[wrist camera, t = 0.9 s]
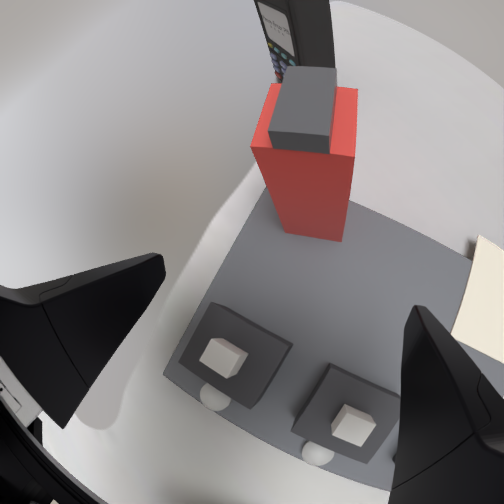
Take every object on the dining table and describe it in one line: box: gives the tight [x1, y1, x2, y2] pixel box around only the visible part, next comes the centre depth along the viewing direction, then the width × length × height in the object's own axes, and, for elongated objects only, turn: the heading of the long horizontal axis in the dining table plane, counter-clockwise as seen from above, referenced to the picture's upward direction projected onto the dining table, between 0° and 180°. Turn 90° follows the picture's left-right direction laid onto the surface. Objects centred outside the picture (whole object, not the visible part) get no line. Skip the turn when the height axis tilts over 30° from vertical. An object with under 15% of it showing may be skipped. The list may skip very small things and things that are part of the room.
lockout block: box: [250, 66, 358, 242], centre depth 16 cm, size 5×4×12 cm
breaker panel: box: [163, 186, 504, 492], centre depth 16 cm, size 22×28×6 cm
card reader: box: [254, 0, 335, 82], centre depth 21 cm, size 9×4×15 cm, turn 24°
